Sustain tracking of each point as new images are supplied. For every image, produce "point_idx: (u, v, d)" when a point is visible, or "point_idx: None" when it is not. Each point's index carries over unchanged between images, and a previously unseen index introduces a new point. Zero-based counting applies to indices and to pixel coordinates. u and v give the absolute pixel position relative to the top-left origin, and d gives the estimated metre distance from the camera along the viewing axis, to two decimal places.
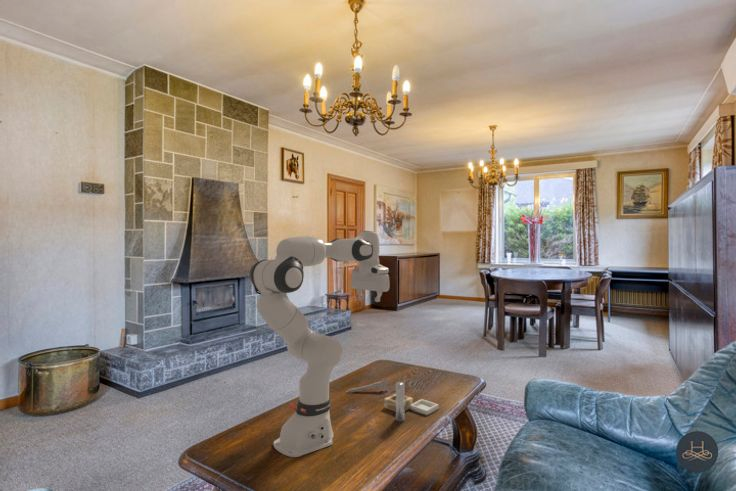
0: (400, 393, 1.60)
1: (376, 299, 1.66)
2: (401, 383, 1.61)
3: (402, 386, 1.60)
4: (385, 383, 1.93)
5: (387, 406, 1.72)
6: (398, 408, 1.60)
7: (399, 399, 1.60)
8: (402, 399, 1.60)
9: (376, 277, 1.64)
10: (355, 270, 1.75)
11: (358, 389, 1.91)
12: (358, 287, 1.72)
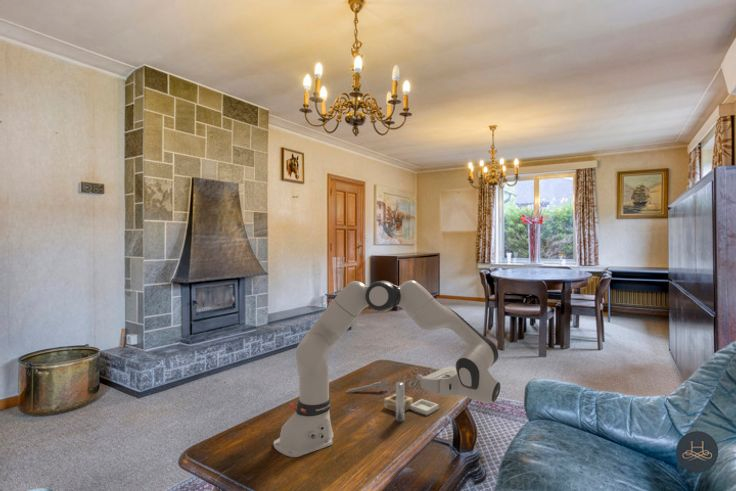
0: (400, 393, 1.60)
1: (419, 374, 1.49)
2: (401, 383, 1.61)
3: (402, 386, 1.60)
4: (385, 383, 1.92)
5: (387, 406, 1.72)
6: (398, 408, 1.60)
7: (399, 399, 1.60)
8: (402, 399, 1.60)
9: (439, 378, 1.42)
10: None
11: (358, 389, 1.91)
12: (443, 368, 1.53)
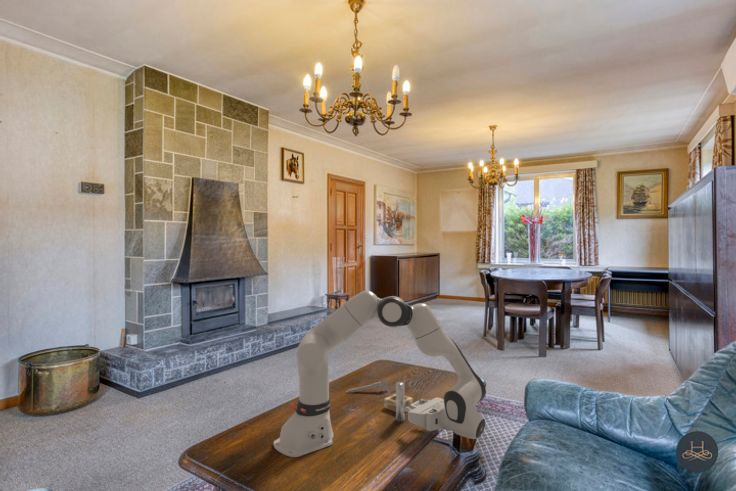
0: (400, 393, 1.60)
1: (407, 407, 1.53)
2: (401, 383, 1.61)
3: (402, 386, 1.60)
4: (385, 383, 1.92)
5: (387, 406, 1.72)
6: (398, 408, 1.60)
7: (399, 399, 1.60)
8: (402, 399, 1.60)
9: (426, 412, 1.45)
10: None
11: (358, 389, 1.91)
12: (431, 400, 1.57)
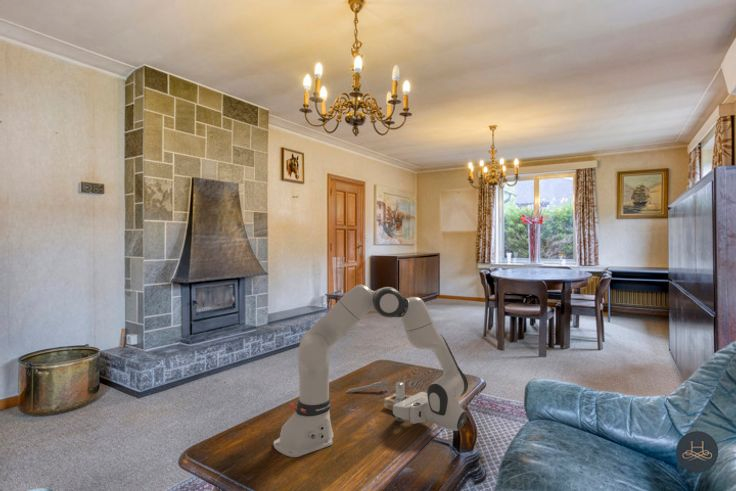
0: (400, 393, 1.60)
1: (396, 399, 1.59)
2: (401, 383, 1.61)
3: (402, 386, 1.60)
4: (385, 383, 1.92)
5: (387, 406, 1.72)
6: None
7: (399, 399, 1.60)
8: (402, 399, 1.60)
9: (410, 405, 1.51)
10: None
11: (358, 389, 1.91)
12: (416, 394, 1.62)
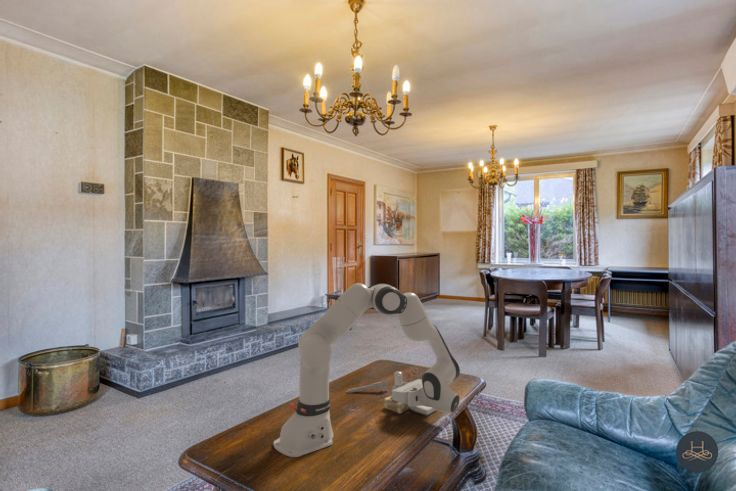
0: (398, 381, 1.72)
1: (394, 385, 1.71)
2: (399, 372, 1.73)
3: (400, 375, 1.72)
4: (385, 383, 1.92)
5: (387, 406, 1.72)
6: None
7: None
8: None
9: None
10: None
11: (358, 389, 1.91)
12: (413, 381, 1.74)
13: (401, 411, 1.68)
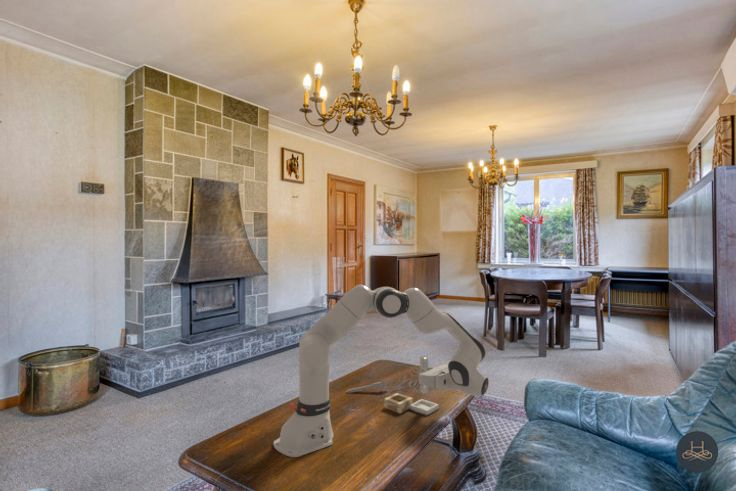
0: (424, 366, 1.70)
1: (420, 370, 1.69)
2: (425, 357, 1.71)
3: (426, 360, 1.70)
4: (385, 383, 1.92)
5: (387, 406, 1.72)
6: None
7: None
8: None
9: None
10: None
11: (357, 389, 1.91)
12: (439, 366, 1.72)
13: (401, 411, 1.68)
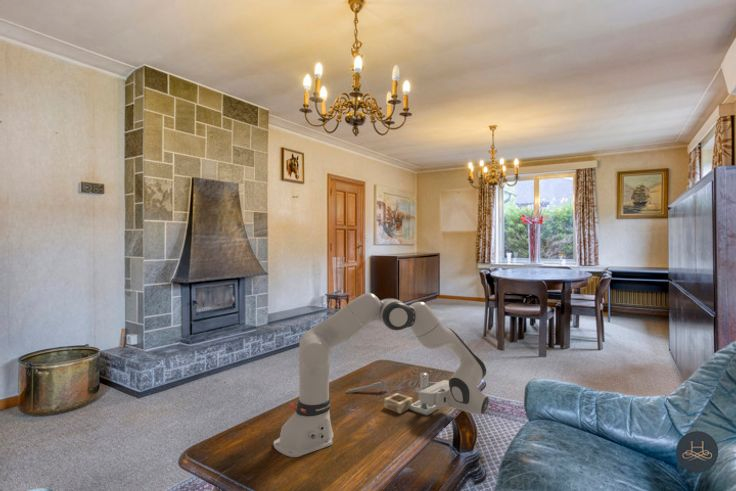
0: (425, 382, 1.70)
1: (417, 388, 1.68)
2: (425, 373, 1.71)
3: (426, 376, 1.70)
4: (384, 383, 1.92)
5: (387, 406, 1.72)
6: None
7: (423, 388, 1.70)
8: None
9: (435, 392, 1.61)
10: None
11: (357, 389, 1.91)
12: (439, 382, 1.72)
13: (401, 411, 1.68)
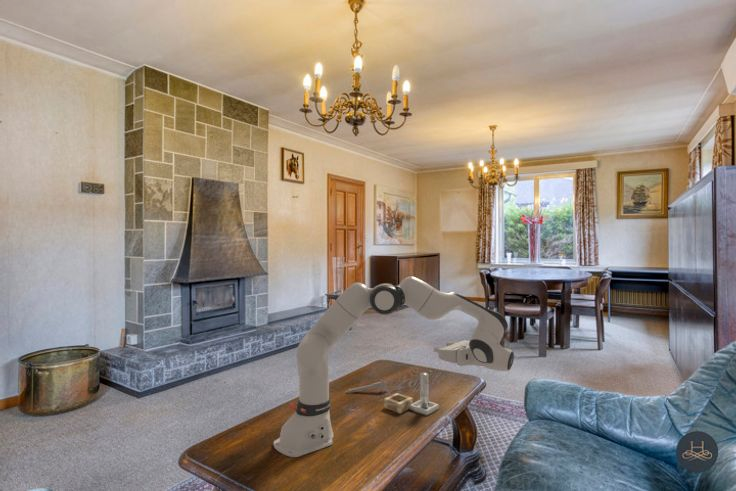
0: (425, 382, 1.70)
1: (436, 347, 1.58)
2: (425, 373, 1.71)
3: (426, 376, 1.70)
4: (384, 384, 1.92)
5: (387, 406, 1.72)
6: (423, 397, 1.70)
7: (423, 388, 1.70)
8: (426, 388, 1.70)
9: (456, 349, 1.50)
10: None
11: (357, 389, 1.91)
12: (458, 342, 1.62)
13: (401, 411, 1.68)
